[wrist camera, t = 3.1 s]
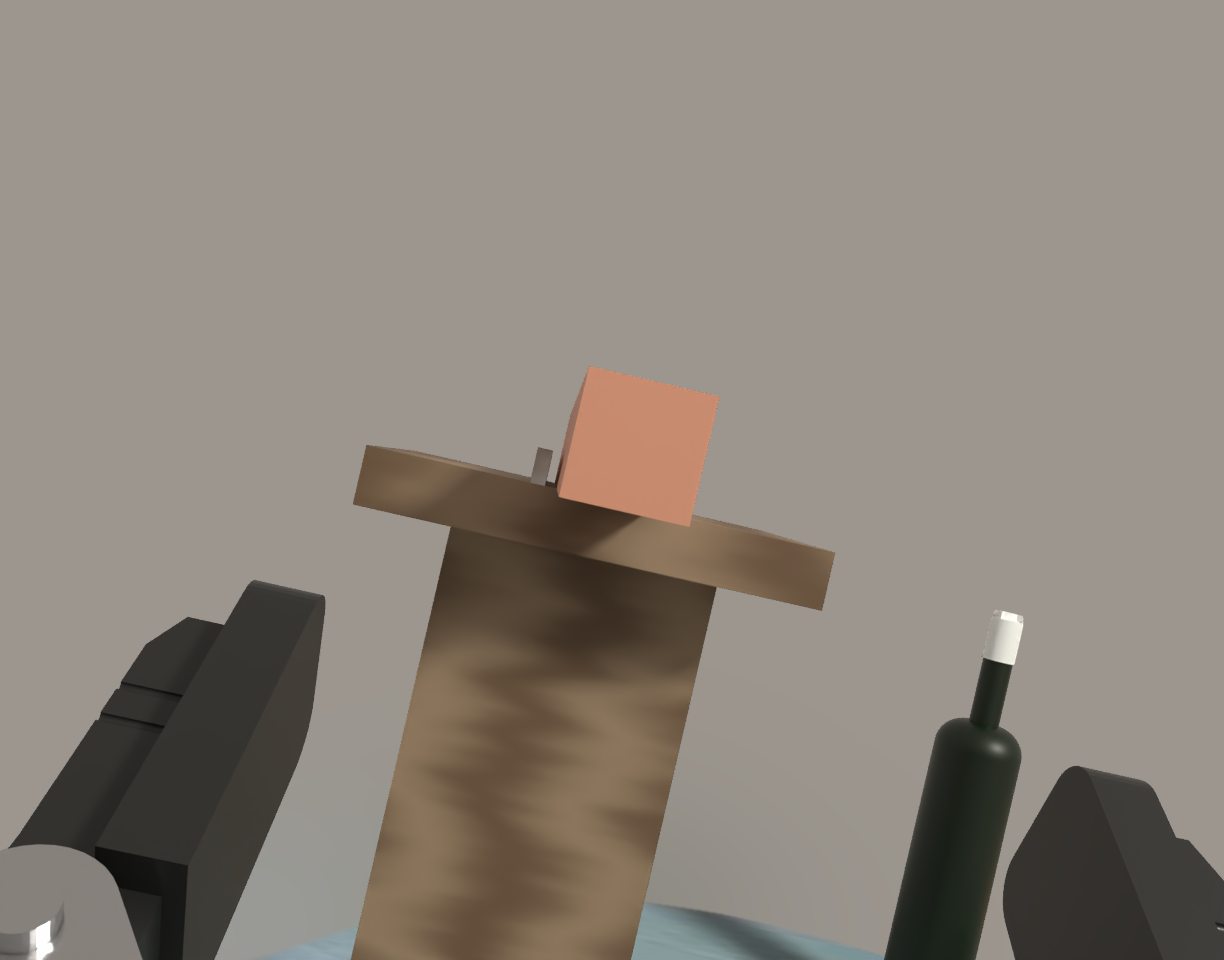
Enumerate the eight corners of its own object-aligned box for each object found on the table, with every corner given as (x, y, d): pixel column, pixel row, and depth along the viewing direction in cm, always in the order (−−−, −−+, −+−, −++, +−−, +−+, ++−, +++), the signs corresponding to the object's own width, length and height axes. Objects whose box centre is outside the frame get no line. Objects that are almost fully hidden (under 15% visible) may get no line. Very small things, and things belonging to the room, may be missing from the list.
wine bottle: (927, 1067, 76) (1030, 619, 76) (853, 1024, 80) (951, 599, 80) (968, 1051, 80) (1066, 626, 80) (896, 1011, 84) (989, 606, 85)
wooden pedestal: (622, 1205, 54) (783, 508, 54) (652, 1513, 38) (880, 526, 38) (238, 1130, 53) (402, 420, 53) (105, 1413, 37) (339, 400, 37)
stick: (622, 498, 54) (638, 430, 54) (689, 526, 28) (719, 396, 28) (554, 482, 54) (570, 414, 54) (558, 497, 28) (589, 366, 28)
